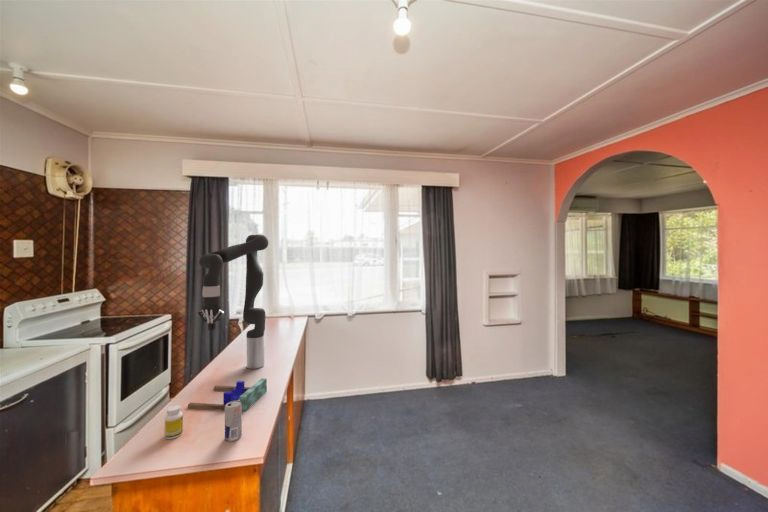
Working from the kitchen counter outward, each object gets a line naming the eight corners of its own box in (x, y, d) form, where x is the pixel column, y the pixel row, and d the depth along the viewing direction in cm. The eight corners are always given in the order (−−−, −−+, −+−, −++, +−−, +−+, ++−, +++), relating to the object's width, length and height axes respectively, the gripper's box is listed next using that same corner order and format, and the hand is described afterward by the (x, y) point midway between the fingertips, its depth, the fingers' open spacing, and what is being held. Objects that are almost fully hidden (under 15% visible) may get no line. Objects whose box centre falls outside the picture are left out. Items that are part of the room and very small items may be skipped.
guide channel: (215, 388, 146) (215, 376, 146) (266, 391, 143) (266, 378, 143) (187, 407, 128) (187, 393, 128) (245, 411, 126) (245, 396, 125)
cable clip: (234, 393, 141) (234, 381, 141) (244, 394, 141) (244, 381, 141) (220, 407, 129) (219, 393, 129) (230, 407, 129) (230, 393, 129)
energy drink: (228, 433, 111) (228, 400, 110) (244, 432, 111) (243, 399, 111) (222, 442, 105) (221, 408, 105) (238, 441, 106) (238, 407, 105)
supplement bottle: (184, 434, 110) (184, 407, 109) (166, 441, 106) (166, 413, 105) (180, 428, 113) (180, 402, 113) (162, 435, 109) (162, 408, 109)
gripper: (228, 294, 152) (229, 329, 152) (204, 293, 153) (204, 328, 153) (219, 296, 144) (219, 333, 145) (193, 296, 146) (193, 332, 146)
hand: (211, 330), depth 149 cm, fingers closed
